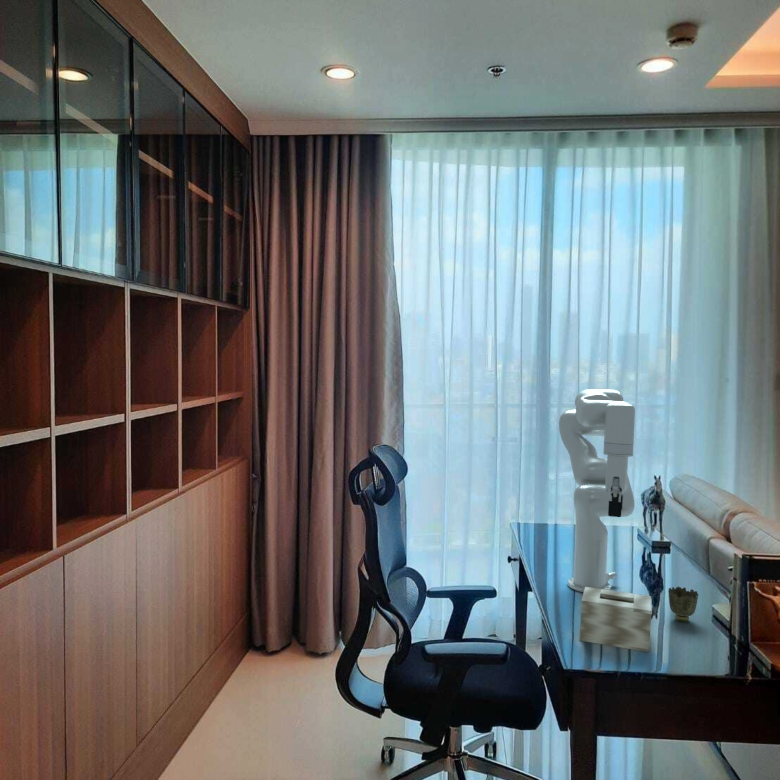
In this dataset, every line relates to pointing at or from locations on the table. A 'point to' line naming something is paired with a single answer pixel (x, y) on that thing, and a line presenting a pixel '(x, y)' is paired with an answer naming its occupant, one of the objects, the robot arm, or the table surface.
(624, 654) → the table surface
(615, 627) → the box
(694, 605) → the cup
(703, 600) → the table surface
